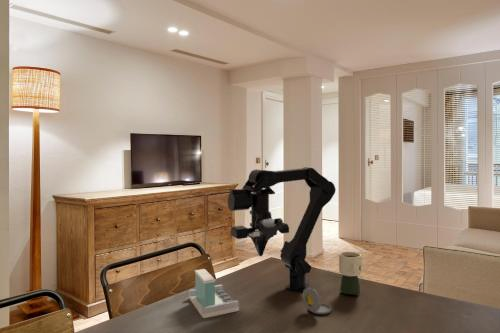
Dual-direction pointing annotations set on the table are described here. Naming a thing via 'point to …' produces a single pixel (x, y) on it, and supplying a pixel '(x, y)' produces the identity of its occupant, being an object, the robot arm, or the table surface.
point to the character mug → (350, 272)
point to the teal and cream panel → (205, 287)
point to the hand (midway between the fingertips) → (260, 255)
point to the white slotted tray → (221, 303)
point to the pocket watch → (314, 301)
